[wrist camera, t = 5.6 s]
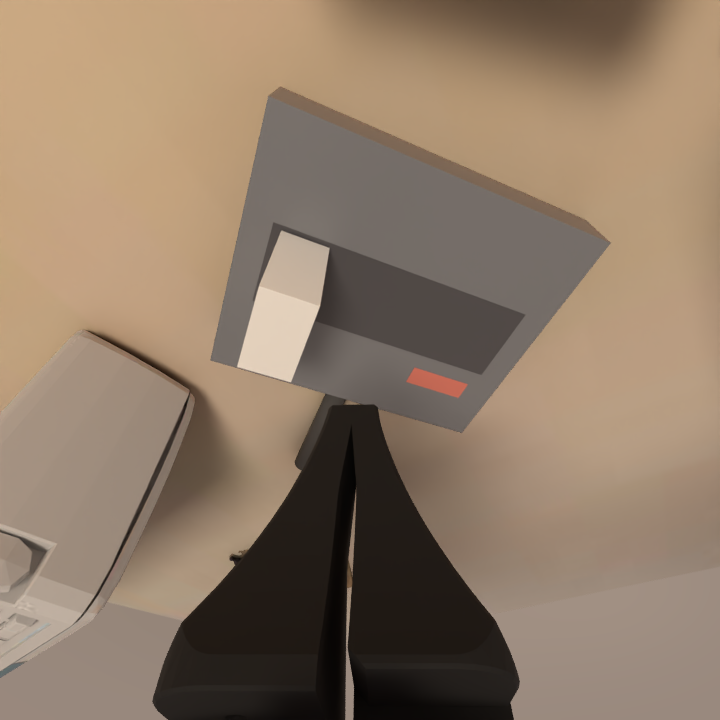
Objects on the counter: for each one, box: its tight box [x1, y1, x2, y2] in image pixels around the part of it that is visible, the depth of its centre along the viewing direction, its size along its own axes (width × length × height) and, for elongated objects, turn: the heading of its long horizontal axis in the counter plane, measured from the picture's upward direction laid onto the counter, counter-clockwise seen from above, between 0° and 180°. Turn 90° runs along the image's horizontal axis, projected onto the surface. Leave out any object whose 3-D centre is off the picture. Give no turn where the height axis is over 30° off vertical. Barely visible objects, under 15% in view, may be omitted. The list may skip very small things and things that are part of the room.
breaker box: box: [211, 87, 610, 433], centre depth 20 cm, size 14×12×2 cm
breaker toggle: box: [237, 231, 330, 382], centre depth 17 cm, size 2×4×4 cm, turn 159°
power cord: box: [295, 394, 346, 470], centre depth 27 cm, size 1×8×1 cm, turn 159°
